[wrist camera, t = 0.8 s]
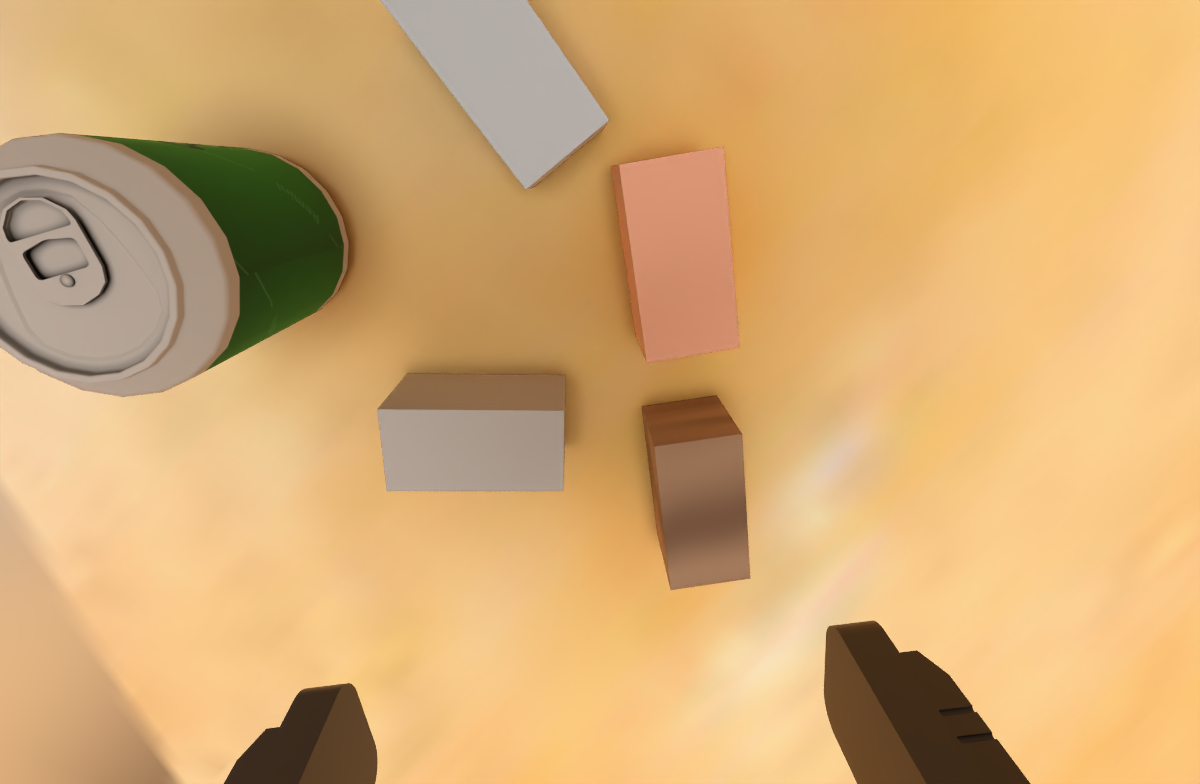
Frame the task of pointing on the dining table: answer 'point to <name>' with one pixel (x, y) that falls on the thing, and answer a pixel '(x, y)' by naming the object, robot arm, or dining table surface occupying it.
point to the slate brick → (474, 433)
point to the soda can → (155, 256)
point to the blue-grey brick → (506, 78)
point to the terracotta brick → (678, 253)
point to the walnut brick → (698, 491)
